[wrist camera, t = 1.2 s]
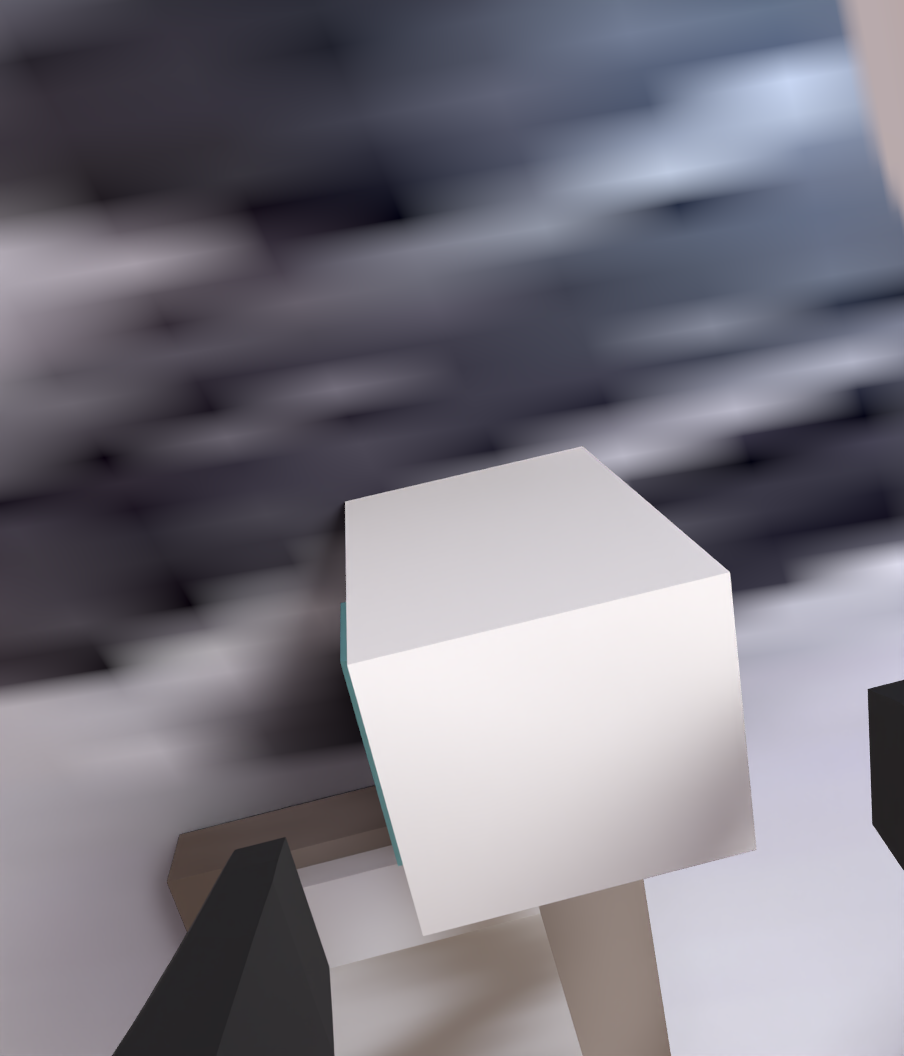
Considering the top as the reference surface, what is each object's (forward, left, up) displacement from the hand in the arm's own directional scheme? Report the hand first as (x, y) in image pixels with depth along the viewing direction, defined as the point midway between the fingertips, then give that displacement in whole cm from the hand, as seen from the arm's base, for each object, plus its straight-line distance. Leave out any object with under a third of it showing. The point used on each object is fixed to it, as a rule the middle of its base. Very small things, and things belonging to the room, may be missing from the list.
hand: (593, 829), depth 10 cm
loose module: (0, 0, -8) cm, 8 cm away
